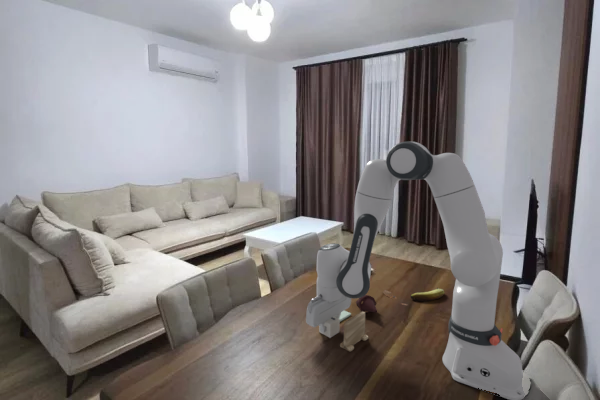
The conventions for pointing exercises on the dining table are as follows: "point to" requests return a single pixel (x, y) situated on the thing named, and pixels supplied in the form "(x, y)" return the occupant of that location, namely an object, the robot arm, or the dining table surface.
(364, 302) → the maroon gnome figurine
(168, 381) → the dining table surface
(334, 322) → the letter cube
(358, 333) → the oak screen
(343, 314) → the green tile
